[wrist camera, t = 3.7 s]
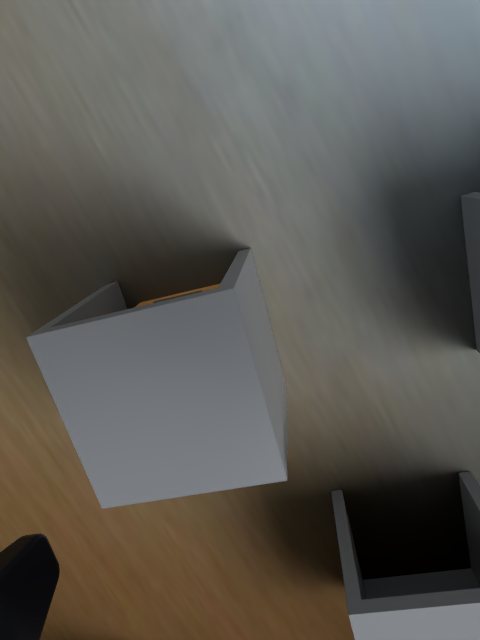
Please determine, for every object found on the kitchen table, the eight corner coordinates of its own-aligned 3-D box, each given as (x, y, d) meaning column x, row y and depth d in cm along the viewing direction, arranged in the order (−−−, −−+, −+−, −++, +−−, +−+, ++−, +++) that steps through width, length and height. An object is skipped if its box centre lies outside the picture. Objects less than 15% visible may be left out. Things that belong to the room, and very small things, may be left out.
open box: (482, 574, 21) (554, 722, 16) (354, 588, 22) (378, 730, 17) (470, 471, 19) (546, 596, 14) (331, 491, 20) (348, 615, 15)
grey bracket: (286, 386, 19) (287, 480, 13) (153, 411, 20) (102, 508, 14) (250, 247, 17) (233, 288, 11) (106, 284, 18) (25, 337, 12)
